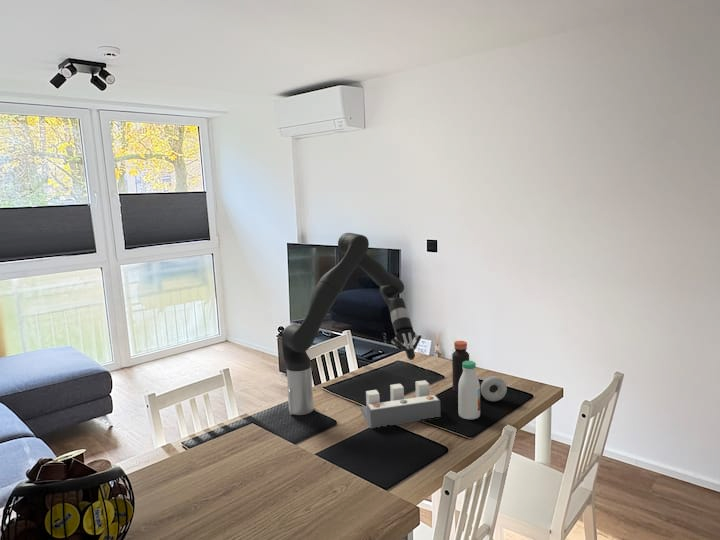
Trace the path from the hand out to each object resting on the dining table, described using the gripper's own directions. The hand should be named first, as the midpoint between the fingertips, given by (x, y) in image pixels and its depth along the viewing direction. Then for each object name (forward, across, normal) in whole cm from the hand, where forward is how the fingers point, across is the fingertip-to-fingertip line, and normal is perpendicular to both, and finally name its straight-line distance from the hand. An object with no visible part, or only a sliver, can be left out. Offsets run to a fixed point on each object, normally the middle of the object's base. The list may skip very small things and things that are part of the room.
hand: (412, 358), depth 196 cm
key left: (+19, -20, 0) cm, 28 cm away
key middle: (+18, -10, +2) cm, 20 cm away
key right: (+18, 0, +2) cm, 18 cm away
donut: (+22, +27, +1) cm, 35 cm away
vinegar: (+12, +20, +10) cm, 26 cm away
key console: (+20, -10, +1) cm, 23 cm away
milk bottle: (+27, +13, -5) cm, 31 cm away
